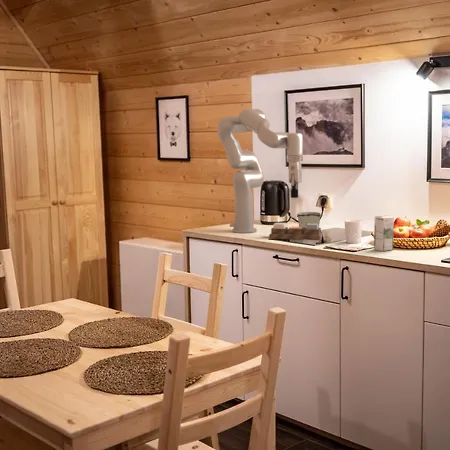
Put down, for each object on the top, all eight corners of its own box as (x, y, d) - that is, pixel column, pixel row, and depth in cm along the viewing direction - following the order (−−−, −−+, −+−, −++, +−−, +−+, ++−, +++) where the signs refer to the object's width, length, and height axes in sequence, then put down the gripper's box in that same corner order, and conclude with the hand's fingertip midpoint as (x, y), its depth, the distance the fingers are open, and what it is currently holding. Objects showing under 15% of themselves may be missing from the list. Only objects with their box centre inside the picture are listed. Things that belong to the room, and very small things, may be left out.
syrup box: (384, 248, 296) (384, 215, 294) (393, 250, 290) (394, 216, 289) (373, 249, 293) (374, 215, 291) (383, 251, 288) (383, 217, 286)
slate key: (306, 231, 327) (306, 224, 326) (308, 229, 331) (308, 223, 331) (317, 231, 325) (317, 224, 325) (318, 229, 330) (318, 223, 330)
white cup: (344, 241, 318) (344, 219, 317) (362, 241, 317) (362, 219, 316) (344, 243, 310) (344, 221, 309) (362, 243, 309) (362, 221, 308)
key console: (269, 238, 330) (269, 229, 329) (273, 235, 339) (273, 226, 339) (319, 239, 323) (319, 230, 322) (322, 236, 333) (322, 227, 332)
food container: (320, 231, 352) (320, 211, 351) (321, 232, 346) (321, 213, 345) (296, 231, 353) (296, 211, 352) (296, 233, 347) (296, 213, 346)
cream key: (273, 230, 331) (273, 224, 331) (275, 228, 336) (275, 222, 335) (283, 230, 330) (283, 224, 329) (285, 229, 334) (285, 223, 334)
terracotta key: (289, 234, 329) (289, 227, 329) (291, 232, 334) (291, 226, 333) (300, 234, 328) (300, 228, 327) (302, 232, 333) (302, 226, 332)
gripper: (299, 159, 319) (299, 199, 321) (305, 158, 333) (304, 196, 335) (283, 159, 321) (283, 199, 323) (289, 158, 335) (289, 196, 337)
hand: (294, 197), depth 329 cm, fingers closed
